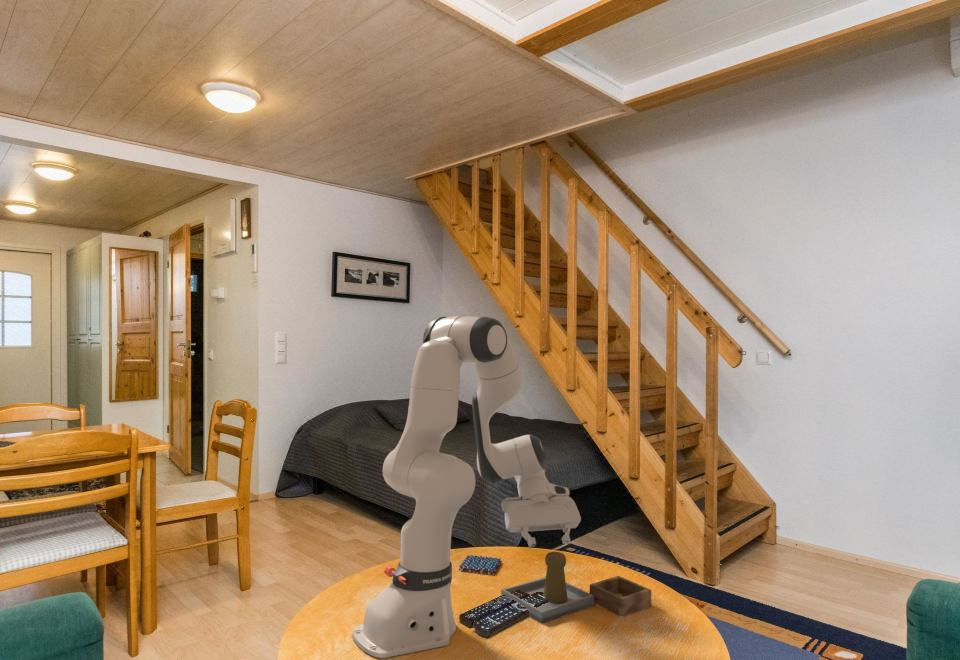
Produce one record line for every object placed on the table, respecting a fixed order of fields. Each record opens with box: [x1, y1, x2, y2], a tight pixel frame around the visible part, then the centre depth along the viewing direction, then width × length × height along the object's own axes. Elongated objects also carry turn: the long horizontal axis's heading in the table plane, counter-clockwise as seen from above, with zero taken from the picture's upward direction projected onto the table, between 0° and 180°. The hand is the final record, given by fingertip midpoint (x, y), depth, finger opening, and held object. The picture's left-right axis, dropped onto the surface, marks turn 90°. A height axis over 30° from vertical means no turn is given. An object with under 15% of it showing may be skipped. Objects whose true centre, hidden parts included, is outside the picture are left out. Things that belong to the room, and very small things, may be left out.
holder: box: [589, 575, 652, 618], centre depth 144 cm, size 10×10×4 cm
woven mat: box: [458, 554, 503, 576], centre depth 167 cm, size 10×11×2 cm
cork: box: [543, 551, 567, 604], centre depth 144 cm, size 6×6×11 cm
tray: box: [500, 576, 595, 624], centre depth 144 cm, size 17×15×2 cm
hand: (550, 544), depth 148 cm, fingers open, 8 cm apart
